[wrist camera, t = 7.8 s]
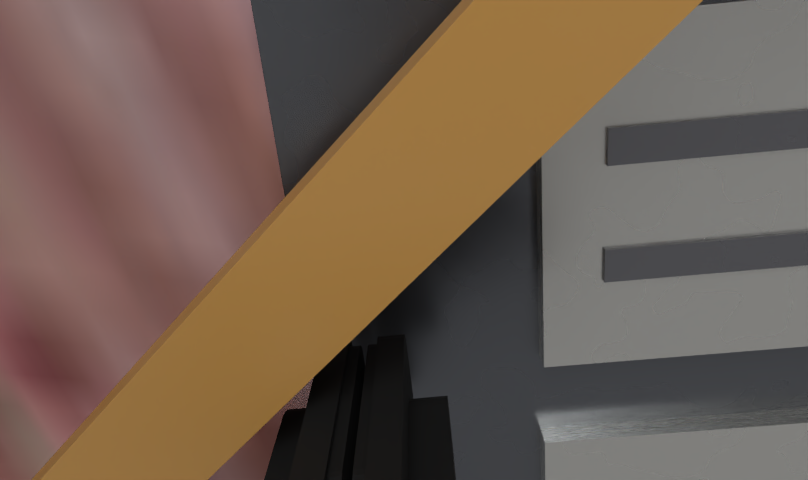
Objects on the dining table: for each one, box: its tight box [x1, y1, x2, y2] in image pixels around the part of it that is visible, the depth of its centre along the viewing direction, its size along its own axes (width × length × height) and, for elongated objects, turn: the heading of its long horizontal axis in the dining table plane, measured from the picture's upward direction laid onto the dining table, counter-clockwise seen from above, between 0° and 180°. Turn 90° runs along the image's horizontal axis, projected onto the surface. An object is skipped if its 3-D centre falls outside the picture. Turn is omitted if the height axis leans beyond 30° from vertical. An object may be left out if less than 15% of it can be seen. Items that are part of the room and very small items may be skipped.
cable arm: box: [32, 0, 703, 480], centre depth 9 cm, size 4×24×2 cm, turn 137°
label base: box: [251, 0, 808, 480], centre depth 13 cm, size 16×23×3 cm
